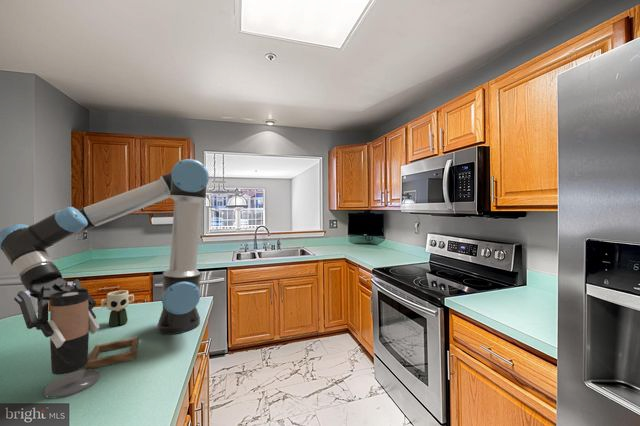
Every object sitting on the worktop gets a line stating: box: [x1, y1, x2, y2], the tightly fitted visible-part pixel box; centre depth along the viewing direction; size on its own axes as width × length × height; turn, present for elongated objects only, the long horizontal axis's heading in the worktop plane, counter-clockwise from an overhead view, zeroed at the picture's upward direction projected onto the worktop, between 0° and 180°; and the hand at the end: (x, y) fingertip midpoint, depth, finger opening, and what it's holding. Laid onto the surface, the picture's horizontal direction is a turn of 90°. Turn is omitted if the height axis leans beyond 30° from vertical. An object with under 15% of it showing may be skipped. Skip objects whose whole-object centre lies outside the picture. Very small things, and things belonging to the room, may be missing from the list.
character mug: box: [100, 289, 135, 327], centre depth 113 cm, size 11×7×13 cm, turn 130°
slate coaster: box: [44, 368, 101, 398], centre depth 74 cm, size 11×11×1 cm
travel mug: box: [49, 288, 90, 376], centre depth 74 cm, size 8×8×20 cm
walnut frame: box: [85, 336, 140, 370], centre depth 89 cm, size 12×12×2 cm
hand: (79, 337), depth 73 cm, fingers closed on travel mug, 7 cm apart
